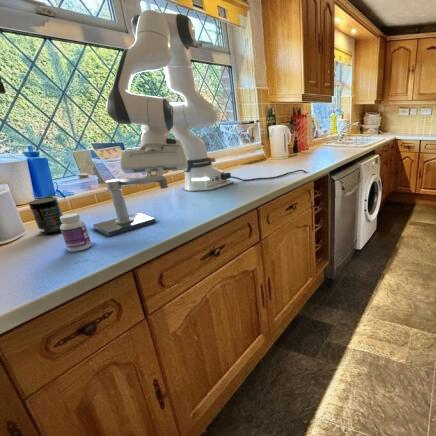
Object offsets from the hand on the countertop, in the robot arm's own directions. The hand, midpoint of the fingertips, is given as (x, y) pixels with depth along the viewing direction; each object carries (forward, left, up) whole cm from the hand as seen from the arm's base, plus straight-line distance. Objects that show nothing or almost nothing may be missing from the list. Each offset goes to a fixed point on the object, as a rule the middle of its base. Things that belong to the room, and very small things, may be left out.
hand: (154, 180), depth 100 cm
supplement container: (+25, -21, -14) cm, 35 cm away
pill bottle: (+25, +2, -14) cm, 29 cm away
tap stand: (+10, -6, -14) cm, 18 cm away
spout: (+5, -2, -2) cm, 5 cm away
